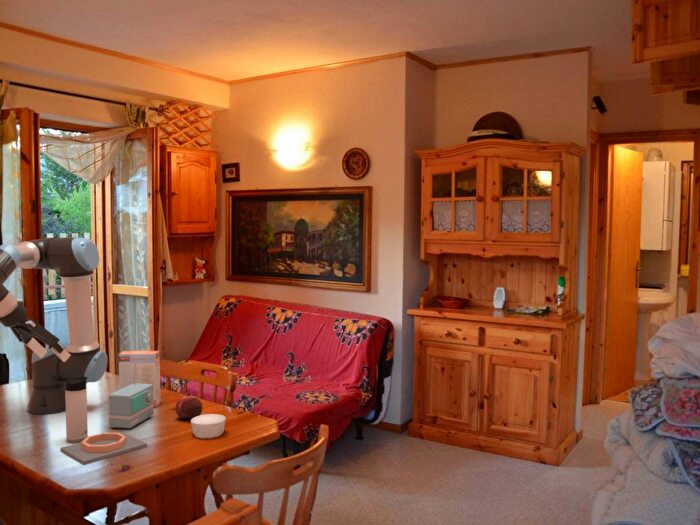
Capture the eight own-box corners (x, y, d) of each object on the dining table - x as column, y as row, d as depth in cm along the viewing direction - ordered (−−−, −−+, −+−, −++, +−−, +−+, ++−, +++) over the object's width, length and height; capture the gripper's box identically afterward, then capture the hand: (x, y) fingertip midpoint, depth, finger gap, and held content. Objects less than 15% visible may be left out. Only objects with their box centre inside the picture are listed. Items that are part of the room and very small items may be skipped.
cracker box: (161, 403, 240) (160, 350, 239) (155, 408, 234) (155, 353, 233) (125, 403, 240) (124, 349, 239) (119, 407, 234) (118, 353, 233)
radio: (133, 431, 208) (132, 372, 207) (108, 429, 210) (107, 371, 209) (156, 416, 224) (156, 362, 223) (134, 415, 226) (133, 361, 225)
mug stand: (60, 451, 190) (60, 441, 189) (122, 434, 204) (121, 425, 204) (83, 464, 179) (83, 454, 179) (147, 446, 194) (147, 437, 193)
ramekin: (185, 433, 206) (185, 418, 206) (215, 426, 214) (215, 411, 213) (200, 442, 198) (200, 426, 198) (231, 435, 205) (231, 419, 205)
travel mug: (92, 439, 200) (91, 378, 199) (71, 444, 195) (70, 382, 194) (83, 435, 204) (82, 375, 203) (63, 440, 199) (61, 378, 198)
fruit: (199, 422, 218) (199, 394, 217) (172, 422, 218) (172, 394, 217) (205, 414, 227) (205, 387, 226) (179, 414, 227) (179, 387, 226)
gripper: (-22, 317, 187) (26, 362, 198) (19, 320, 172) (68, 369, 184) (-3, 299, 191) (43, 344, 203) (38, 301, 176) (85, 350, 188)
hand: (55, 356), depth 193 cm, fingers open, 13 cm apart
